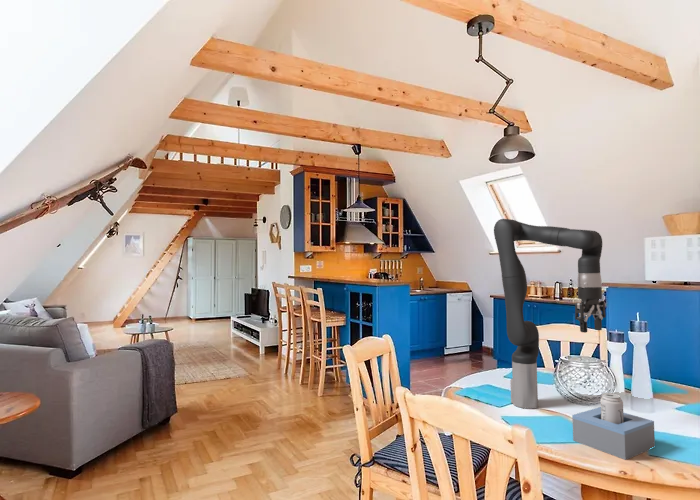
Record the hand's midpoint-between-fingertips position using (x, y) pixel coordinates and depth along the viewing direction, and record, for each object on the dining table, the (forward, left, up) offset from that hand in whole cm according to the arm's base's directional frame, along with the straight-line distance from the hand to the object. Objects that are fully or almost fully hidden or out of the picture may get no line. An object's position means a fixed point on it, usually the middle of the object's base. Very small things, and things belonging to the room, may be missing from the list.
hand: (591, 331), depth 155 cm
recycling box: (+14, -13, -32) cm, 37 cm away
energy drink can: (+14, -13, -32) cm, 37 cm away
